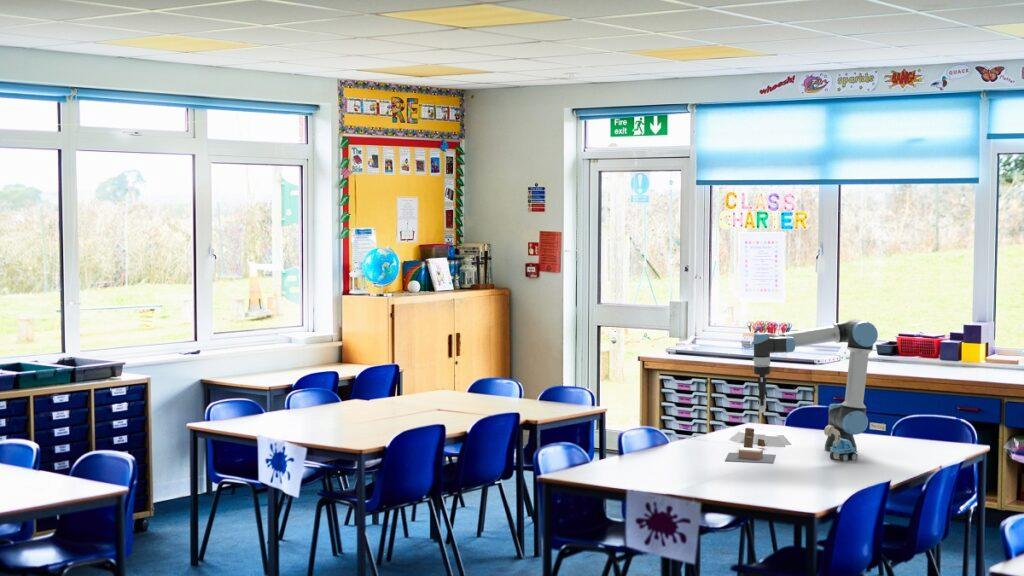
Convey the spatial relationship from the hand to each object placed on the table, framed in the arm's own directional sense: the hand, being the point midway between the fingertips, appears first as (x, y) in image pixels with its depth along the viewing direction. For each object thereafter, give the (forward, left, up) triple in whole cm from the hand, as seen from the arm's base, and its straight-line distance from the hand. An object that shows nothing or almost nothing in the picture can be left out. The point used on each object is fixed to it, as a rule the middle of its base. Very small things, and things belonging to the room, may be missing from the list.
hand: (762, 410), depth 581 cm
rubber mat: (+5, +8, -22) cm, 24 cm away
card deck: (+5, +8, -21) cm, 23 cm away
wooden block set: (+6, -16, -22) cm, 28 cm away
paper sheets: (+2, -42, -23) cm, 48 cm away
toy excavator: (-35, +1, -22) cm, 42 cm away
